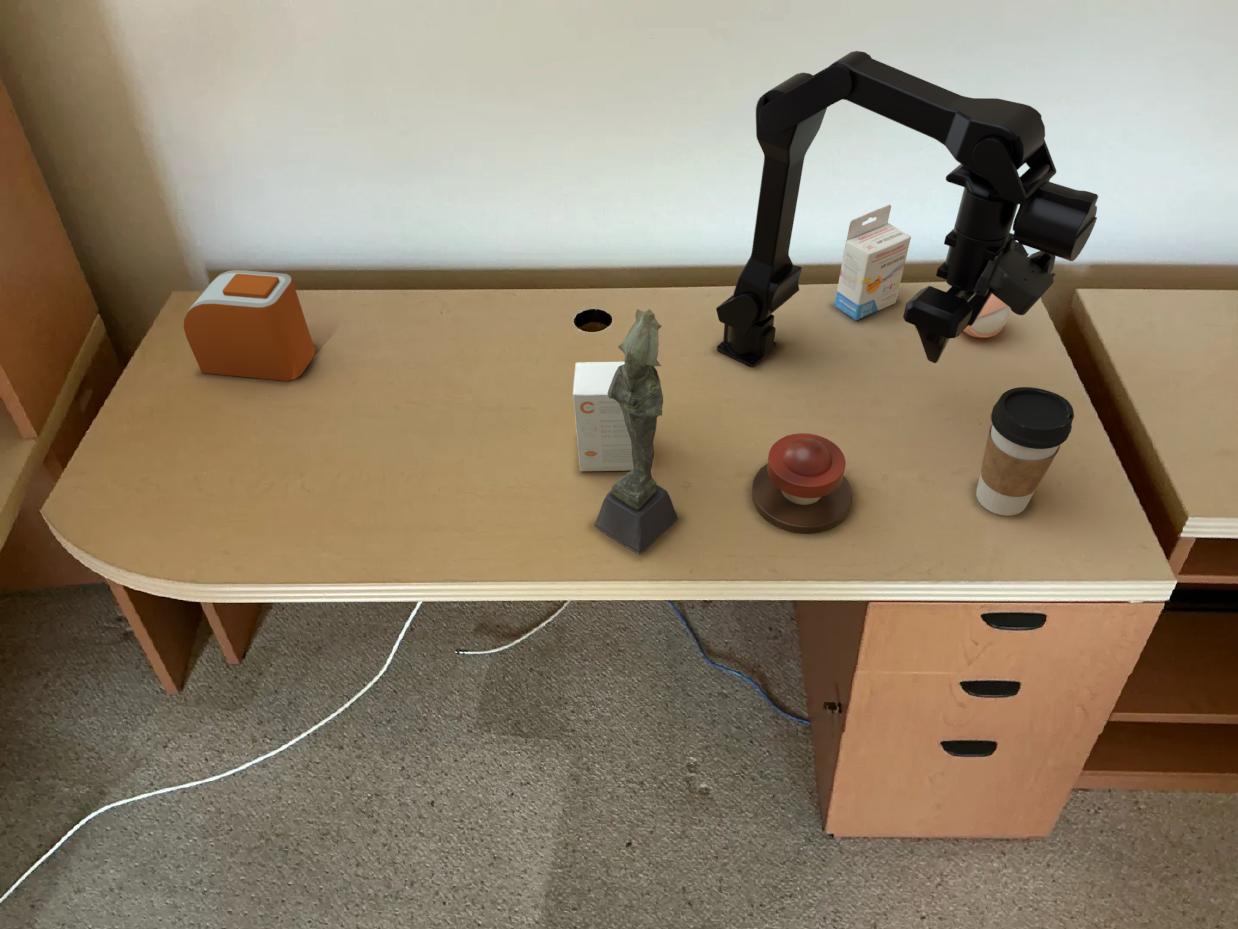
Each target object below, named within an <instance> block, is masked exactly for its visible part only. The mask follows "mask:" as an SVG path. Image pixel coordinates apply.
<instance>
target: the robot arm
mask: <svg viewBox="0 0 1238 929" xmlns="http://www.w3.org/2000/svg"><path fill="white" fill-rule="evenodd" d="M843 100H844V101H847V102H849V103H852V104H854V105H857V106H858V107H861V108H863V109H866V110H868V111H870V112H873V113H874V114H876V115H878V116H879V115H880V116H881V117H884V118H886V119H888V120H890V121H893V122H895V123H897V124H899V125H901V126H904V127H906V128H909V129H911V130H914V131H915V132H918V133H920V134H922V135H925V136H926V137H929V138H932V139H933V140H935V141H937V142H938V143H940V144H942V145H943V146H944V147H945V148H946V149H947V150H948V152H949V153H950V154H951V156H952V157H953V158H954V160H955V161H956V162H957V163H959V164H958V165H957V166H956V167H955V168H954V169H953V170H952V171H951V172H949V173H948V174H947V175H946V176H945V181H946V182H948V183H950V184H953V185H956V186H960V187H962V188H963V190H962V195H961V200H960V203H959V207H958V211H957V215H956V219H955V223H954V227H953V229H952V230H951V231H949V232H948V234H946V235H945V237H944V242H943V245H945V246H947V247H948V249H947V250H948V251H947V254H946V258H945V260H944V262H943V263H942V264H940V266H939V267H938V268H937V270H936V273H935V276H936V277H938V278H940V279H943V280H945V283H946V284H947V285H949V286H950V288H949V289H948V290H947V291H944V290H942V289H939V288H937V287H934V286H931V285H928V286H926V287H924V288H921V289H920V290H918V292H916V293H915V295H913V296H912V297H911V299H909V300H908V301H907V302H906V303H905V307H904V311H903V314H902V318H903V320H904V322H906V323H908V324H910V325H912V326H914V327H915V329H916V331H917V333H918V336H919V339H920V341H921V345H922V348H923V350H924V353H925V356H926V360H927V361H929V362H930V363H933V364H937V363H938V362H939V360H940V359H941V357H942V356H943V355H942V354H943V353H944V351H945V349H946V346H947V345H948V343H949V341H950V339H956V338H957V337H959V335H961V334H962V333H963V332H964V331H963V330H964V329H965V328H966V327H967V326H968V325H969V326H972V325H973V324H974V322H975V320H976V319H977V317H978V315H979V314H980V312H981V311H982V309H983V307H984V306H985V304H986V303H987V301H988V299H989V298H990V296H991V295H992V294H993V295H994V296H996V297H997V298H998V299H1000V300H1001V301H1002V302H1004V303H1005V304H1006V305H1007V306H1009V307H1010V312H1013V313H1014V314H1015V315H1017V316H1024V315H1026V314H1027V313H1028V312H1029V311H1030V310H1031V309H1032V307H1033V306H1034V305H1035V304H1036V303H1037V302H1038V301H1039V300H1040V299H1041V298H1042V297H1043V295H1044V294H1045V293H1046V292H1047V291H1048V290H1049V289H1050V287H1052V286H1053V284H1054V278H1055V277H1056V275H1057V274H1056V273H1055V272H1053V271H1054V266H1055V263H1056V257H1058V258H1060V259H1063V260H1067V261H1069V262H1074V261H1075V260H1076V259H1077V258H1078V257H1079V255H1080V254H1081V252H1082V251H1083V249H1084V247H1085V246H1086V244H1087V243H1088V241H1089V238H1090V236H1091V234H1092V232H1093V231H1094V227H1095V225H1096V222H1097V220H1098V217H1097V216H1096V215H1097V212H1098V206H1097V205H1096V204H1097V202H1098V199H1099V195H1098V194H1097V193H1095V192H1092V191H1089V190H1088V191H1087V190H1079V189H1074V188H1071V187H1068V186H1065V185H1061V184H1059V183H1055V182H1052V181H1051V179H1052V178H1053V177H1054V176H1055V175H1056V174H1057V169H1056V168H1057V167H1056V166H1055V163H1054V160H1053V158H1052V155H1051V153H1050V149H1049V148H1048V145H1047V142H1046V139H1045V137H1046V126H1045V123H1044V121H1043V118H1042V114H1041V113H1040V112H1039V111H1038V110H1037V109H1036V108H1034V107H1032V106H1031V105H1029V104H1025V103H1021V102H1016V101H1011V100H1007V99H1003V98H1002V99H1001V98H996V97H994V98H992V97H991V98H987V97H985V98H983V97H981V98H979V97H969V96H964V95H961V94H958V93H956V92H954V91H952V90H949V89H947V88H944V87H942V86H939V85H937V84H934V83H931V82H929V81H927V80H925V79H923V78H920V77H917V76H916V75H913V74H910V73H908V72H905V71H903V70H901V69H898V68H896V67H894V66H891V65H889V64H887V63H884V62H881V61H879V60H877V59H874V58H872V56H871V55H870V54H869V53H867V52H866V51H860V50H854V51H850V52H849V53H847V54H845V55H844V56H842V57H840V58H839V59H837V60H836V61H834V62H833V63H831V64H830V65H829V66H827V67H826V68H823V69H822V70H820V71H818V72H816V73H815V74H811V73H810V72H808V73H807V72H799V73H796V74H794V75H792V76H790V77H789V78H788V79H785V80H784V81H782V82H780V83H779V84H778V85H776V86H774V87H773V88H771V89H770V90H767V91H766V92H765V93H763V94H762V95H761V96H760V97H759V98H758V100H757V102H756V105H755V136H756V141H757V142H758V144H759V146H760V148H761V151H762V153H763V163H762V164H763V165H762V171H761V180H760V186H759V187H760V188H759V195H758V202H757V210H756V217H755V225H754V232H753V240H752V246H751V254H750V256H749V258H748V260H747V262H746V263H745V265H744V267H743V269H742V270H741V272H740V274H739V276H738V278H737V281H736V284H735V288H734V291H733V294H732V295H731V296H730V297H729V298H727V299H726V300H725V301H723V302H722V303H721V304H719V305H718V306H717V307H716V309H715V312H716V314H717V318H718V322H720V323H721V324H724V325H723V340H722V341H721V342H720V343H719V344H718V345H717V346H716V351H717V352H719V353H721V354H723V355H725V356H727V357H729V358H731V359H734V360H736V361H738V362H739V363H742V364H744V365H745V366H748V367H755V366H756V365H757V364H758V363H760V361H762V360H764V359H765V358H766V357H767V356H768V355H770V354H771V353H772V352H773V351H774V350H775V349H776V348H777V346H778V342H776V341H775V340H776V339H775V338H776V330H777V328H776V327H775V326H774V322H775V315H774V314H773V313H775V312H776V311H777V310H778V309H780V307H782V306H783V305H784V304H785V303H787V302H788V301H789V300H790V299H791V298H792V297H793V296H794V295H795V294H797V293H798V292H799V291H800V285H799V279H800V277H801V274H802V272H803V271H802V270H803V267H801V266H800V265H799V266H798V265H795V264H794V263H793V261H792V259H791V257H790V255H789V254H790V247H791V240H792V236H793V228H794V222H795V216H796V212H797V204H798V198H799V193H800V192H799V191H800V186H801V180H802V174H803V169H804V164H805V157H806V154H807V152H808V150H810V147H811V145H812V143H813V141H814V140H815V138H816V136H818V135H817V134H818V133H819V131H820V129H821V126H822V123H823V121H824V118H825V115H826V112H827V109H828V108H829V107H830V106H832V105H834V104H836V103H838V102H840V101H843ZM1025 164H1026V165H1027V167H1028V169H1027V170H1026V171H1025V172H1023V173H1022V175H1020V174H1019V172H1018V170H1019V169H1020V168H1022V166H1024V165H1025ZM1018 206H1019V207H1018ZM1011 230H1012V231H1013V233H1011ZM1025 246H1026V247H1028V248H1031V249H1034V250H1037V251H1036V252H1034V253H1031V254H1029V253H1028V252H1027V250H1026V248H1025Z"/></svg>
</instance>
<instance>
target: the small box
mask: <svg viewBox="0 0 1238 929" xmlns="http://www.w3.org/2000/svg"><path fill="white" fill-rule="evenodd" d="M624 364H625V361H587V362H586V361H581V362H580V361H578V362H577V361H576V362H575V365H574V366H575V367H574V375H573V376H574V377H573V387H572V399H573V407H574V408H573V410H574V420H575V430H576V441H577V442H576V443H577V453H578V455H577V456H578V465H579V470H580V472H624V471H627V472H628V471H629V472H630V471H631V470H632V469H633V459H632V445H631V439H630V436H629V433H628V430H627V427H626V424H625V420H624V416H623V412H622V409H621V407H620V404H619V403H618V402H617V401H616V400H614V399H612V398H609V396H608V394H607V393H608V390H609V387H610V384H611V382H612V379H613V377H614V374H615V372H616V370H617V368H618V367H619V366H621V365H624Z"/></svg>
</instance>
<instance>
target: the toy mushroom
mask: <svg viewBox="0 0 1238 929" xmlns="http://www.w3.org/2000/svg"><path fill="white" fill-rule="evenodd" d="M846 462H847V461H846V458H845V455H844V453H843V451H842V450H841V449H840V446H838V445H837V444H836V443H834V442H833V441H832V440H830V439H828V438H826V437H823V436H821V435H818V434H813V433H805V432H804V433H802V432H800V433H799V432H798V433H792V434H788V435H785V436H783V437H781V438H780V439H777V440H776V441H775V442H774V443H773V445H772V446H771V447H770V449H769V452H768V457H767V462H766V463H765V465H763V466H762V467H760V469H759V470H758V471H757V473H755V476H754V477H753V481H752V486H751V499H752V502H753V505H754V507H755V509H756V511H757V512H758V514H759V515H760V516H761V517H762V518H763V519H764V520H765V521H767V522H768V523H770V524H771V525H773V526H775V527H777V528H778V529H781V530H784V531H787V532H791V533H795V534H817V533H821V532H826V531H828V530H831V529H832V528H834V527H836V526H838V525H839V524H840V523H842V521H844V519H845V518H846V517H847V516H848V514H849V512H850V509H851V505H852V500H853V491H852V487H851V484H850V482H849V480H848V479H847V478H846V476H845V470H846V466H847V465H846V464H847V463H846Z"/></svg>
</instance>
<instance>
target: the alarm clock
mask: <svg viewBox="0 0 1238 929" xmlns="http://www.w3.org/2000/svg"><path fill="white" fill-rule="evenodd" d="M183 331H184V334H185V337H186V340H187V342H188V344H189V347H190V349H191V351H192V353H193V356H194V359H195V361H196V363H197V365H198V367H199V369H200V372H201V373H202V374H210V375H211V374H212V375H220V376H232V377H240V378H250V379H251V378H252V379H261V380H273V381H282V382H289V381H293V380H295V379H297V378H299V377H301V376H302V374H303V373H305V370H306V368H307V367H308V366H309V364H310V362H311V361H312V359H313V358H314V356H315V354H316V349H315V348H316V347H315V345H314V343H313V340H312V335H311V333H310V329H309V328H308V324H307V321H306V318H305V315H304V311H303V308H302V305H301V302H300V299H299V296H298V293H297V289H296V286H295V283H294V280H293V278H292V276H290V275H289V274H287V273H281V272H269V271H259V270H258V271H257V270H245V269H233V270H228V271H225V272H221V273H220V274H219V275H217V276H216V277H215V278H214V279H213V280H212V281H211V282H210V284H209V285H208V286H207V287H206V288H205V290H204V291H203V292H202V293H201V294H200V296H199V297H198V298H197V299H196V300H195V302H194V303H193V304H192V305H191V306H190V307H189V309H188V310H187V311H186V313H185V316H184V318H183Z"/></svg>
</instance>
